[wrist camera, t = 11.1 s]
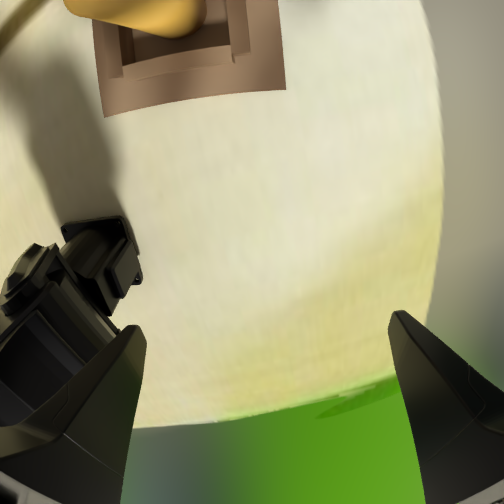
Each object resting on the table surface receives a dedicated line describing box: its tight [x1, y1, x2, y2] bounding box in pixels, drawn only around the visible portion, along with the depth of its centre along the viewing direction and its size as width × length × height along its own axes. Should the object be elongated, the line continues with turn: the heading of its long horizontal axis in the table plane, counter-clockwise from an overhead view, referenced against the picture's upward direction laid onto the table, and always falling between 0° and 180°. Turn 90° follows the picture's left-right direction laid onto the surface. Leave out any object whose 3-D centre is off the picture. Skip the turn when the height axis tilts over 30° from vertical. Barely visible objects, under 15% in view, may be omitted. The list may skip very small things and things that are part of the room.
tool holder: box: [92, 0, 286, 118], centre depth 13 cm, size 12×12×3 cm
